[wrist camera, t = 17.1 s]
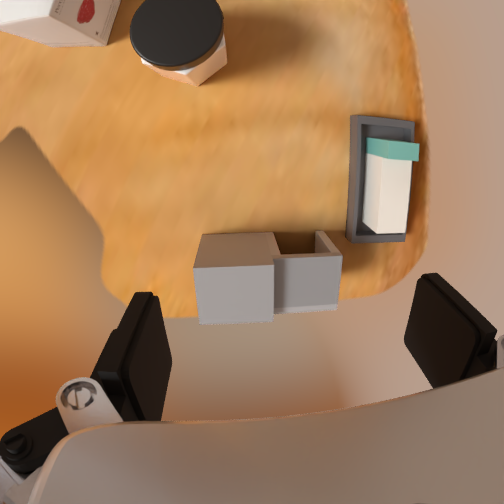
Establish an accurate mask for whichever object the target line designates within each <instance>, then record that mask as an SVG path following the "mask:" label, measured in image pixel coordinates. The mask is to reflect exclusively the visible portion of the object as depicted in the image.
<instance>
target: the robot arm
mask: <svg viewBox="0 0 504 504" xmlns="http://www.w3.org/2000/svg"><path fill="white" fill-rule="evenodd" d="M496 333H497V329H496V328H495V327H494V326H493V325H492V324H491V323H490V322H489V321H488V320H487V319H486V318H485V317H484V316H483V315H481V313H480V312H479V311H478V310H477V309H475V308H474V307H473V306H472V305H471V304H470V303H469V302H468V301H467V300H466V299H465V298H464V297H463V296H462V295H461V294H460V293H459V292H458V291H457V290H455V289H454V288H453V287H452V286H451V285H450V284H449V283H447V281H445V280H444V279H443V278H442V277H441V276H440V275H439V274H438V273H429V274H423V275H422V276H421V278H419V279H418V281H417V284H416V290H415V294H414V299H413V303H412V307H411V311H410V315H409V320H408V324H407V327H406V331H405V335H404V343H405V345H406V347H407V348H408V350H409V351H410V353H411V354H412V356H413V357H414V359H415V361H416V362H417V364H418V365H419V367H420V368H421V370H422V372H423V373H424V375H425V376H426V378H427V379H428V381H429V383H430V384H431V386H432V387H433V389H430V390H427V391H423V392H419V393H415V394H411V395H407V396H403V397H398V398H394V399H390V400H385V401H380V402H375V403H371V404H365V405H360V406H355V407H349V408H343V409H337V410H330V411H323V412H317V413H308V414H300V415H292V416H282V417H271V418H259V419H242V420H217V421H161V417H162V412H163V407H164V401H165V396H166V391H167V386H168V381H169V377H170V372H171V367H172V357H171V352H170V348H169V344H168V339H167V335H166V330H165V326H164V321H163V316H162V312H161V307H160V302H159V298H158V296H153V293H152V292H135V294H134V296H133V298H132V299H131V301H130V303H129V305H128V307H127V309H126V311H125V313H124V315H123V317H122V319H121V321H120V324H119V326H118V328H117V329H115V330H113V331H112V333H111V334H110V336H109V338H108V341H107V343H106V345H105V347H104V349H103V351H102V353H101V355H100V357H99V359H98V361H97V364H96V366H95V368H94V370H93V372H92V375H91V376H90V378H85V377H84V378H76V379H73V380H70V381H69V382H67V383H65V384H64V385H63V386H62V387H61V388H60V389H59V391H58V392H57V395H56V404H57V407H56V408H54V409H52V410H50V411H48V412H46V413H44V414H42V415H40V416H38V417H36V418H33V419H31V420H29V421H27V422H25V423H23V424H21V425H19V426H17V427H15V428H13V429H11V430H9V431H8V432H7V433H5V434H4V436H3V437H2V438H1V441H0V504H504V335H502V336H501V337H499V338H498V340H497V341H496V340H495V339H494V338H495V335H496Z"/></svg>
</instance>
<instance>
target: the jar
mask: <svg viewBox="0 0 504 504" xmlns="http://www.w3.org/2000/svg"><path fill="white" fill-rule="evenodd" d="M223 19H224V17H223V13H222V11H221V8H220V6H219V4H218V3H217V2H216V0H146V1H144V2H143V3H142V4H141V6H140V7H139V8H138V9H137V11H136V12H135V14H134V16H133V19H132V21H131V25H130V40H131V43H132V46H133V48H134V50H135V51H136V53H137V54H138V55H139V56H140V57H141V60H142V63H143V64H144V65H146V66H148V67H149V68H151V69H152V70H154V71H155V72H157V73H159V74H160V75H162V76H163V77H167V78H170V79H174V80H177V81H180V82H184V83H187V84H190V85H194V86H199V85H200V84H201V83H203V82H204V81H205V80H206V79H208V78H209V77H210V76H212V75H213V74H214V73H215V72H217V71H218V70H219V69H221V68H222V67H223V66H225V65H226V64H227V63H228V61H227V53H226V44H225V38H224V23H223Z"/></svg>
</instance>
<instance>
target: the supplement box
mask: <svg viewBox="0 0 504 504" xmlns="http://www.w3.org/2000/svg"><path fill="white" fill-rule="evenodd" d="M120 2H121V0H0V31H3V32H7V33H10V34H14V35H17V36H20V37H23V38H26V39H30V40H33V41H36V42H39V43H42V44H45V45H48V46H50V47H74V46H106V45H107V42H108V39H109V36H110V32H111V29H112V26H113V23H114V20H115V16H116V13H117V10H118V8H119V5H120Z"/></svg>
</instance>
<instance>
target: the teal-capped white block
mask: <svg viewBox="0 0 504 504" xmlns="http://www.w3.org/2000/svg"><path fill="white" fill-rule="evenodd" d="M418 160H419V144H417V143H412V142H406V141H400V140H394V139H382V138H370V137H366V155H365V179H364V197H363V211H362V222H363V223H365V224H366V225H367V226H368V227H369V228H371V229H372V230H373V231H374V232H375V233H377V234H380V233H405V229H406V221H407V213H408V203H409V193H410V181H411V167H412V161H418Z"/></svg>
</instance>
